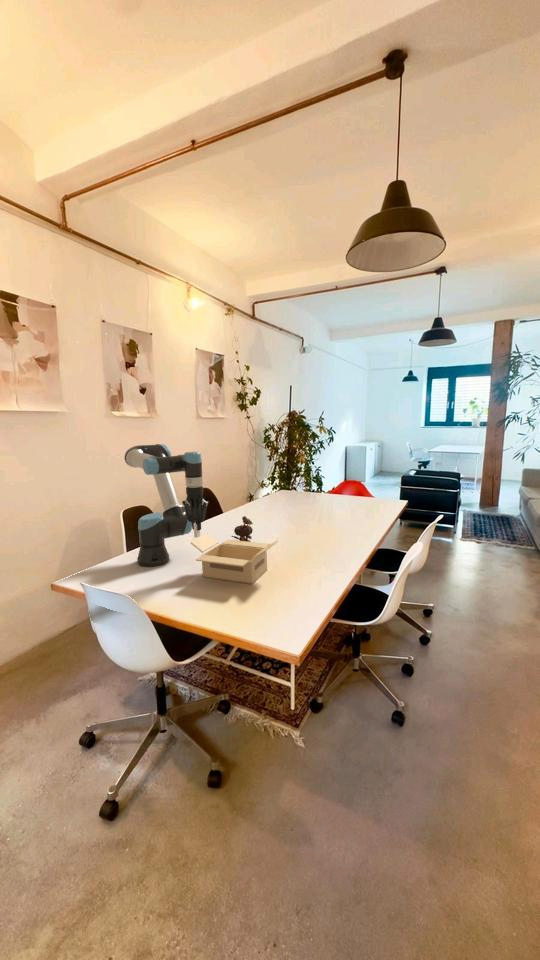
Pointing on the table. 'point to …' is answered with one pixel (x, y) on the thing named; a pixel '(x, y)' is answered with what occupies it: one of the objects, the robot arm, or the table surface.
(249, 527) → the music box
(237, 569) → the carton
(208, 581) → the table surface
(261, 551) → the flap
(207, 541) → the flap
